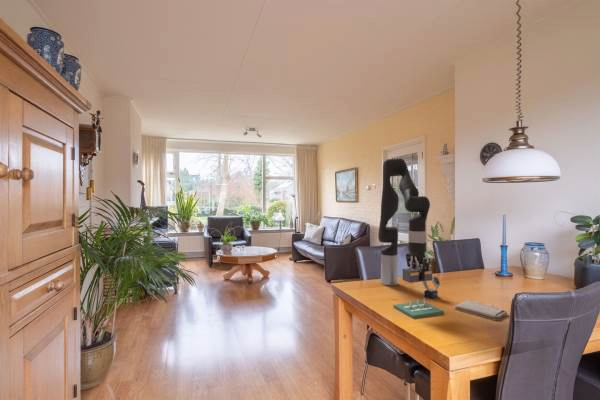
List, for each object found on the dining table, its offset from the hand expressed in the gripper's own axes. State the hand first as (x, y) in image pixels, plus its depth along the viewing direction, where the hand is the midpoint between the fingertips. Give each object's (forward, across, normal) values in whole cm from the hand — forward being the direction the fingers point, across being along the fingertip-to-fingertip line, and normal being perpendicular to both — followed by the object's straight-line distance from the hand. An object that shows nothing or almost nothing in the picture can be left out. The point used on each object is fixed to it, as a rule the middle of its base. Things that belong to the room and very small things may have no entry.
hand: (417, 278), depth 143 cm
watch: (+14, -14, +19) cm, 28 cm away
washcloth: (+15, +10, +25) cm, 31 cm away
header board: (+14, 0, 0) cm, 14 cm away
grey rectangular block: (+1, 0, 0) cm, 1 cm away
